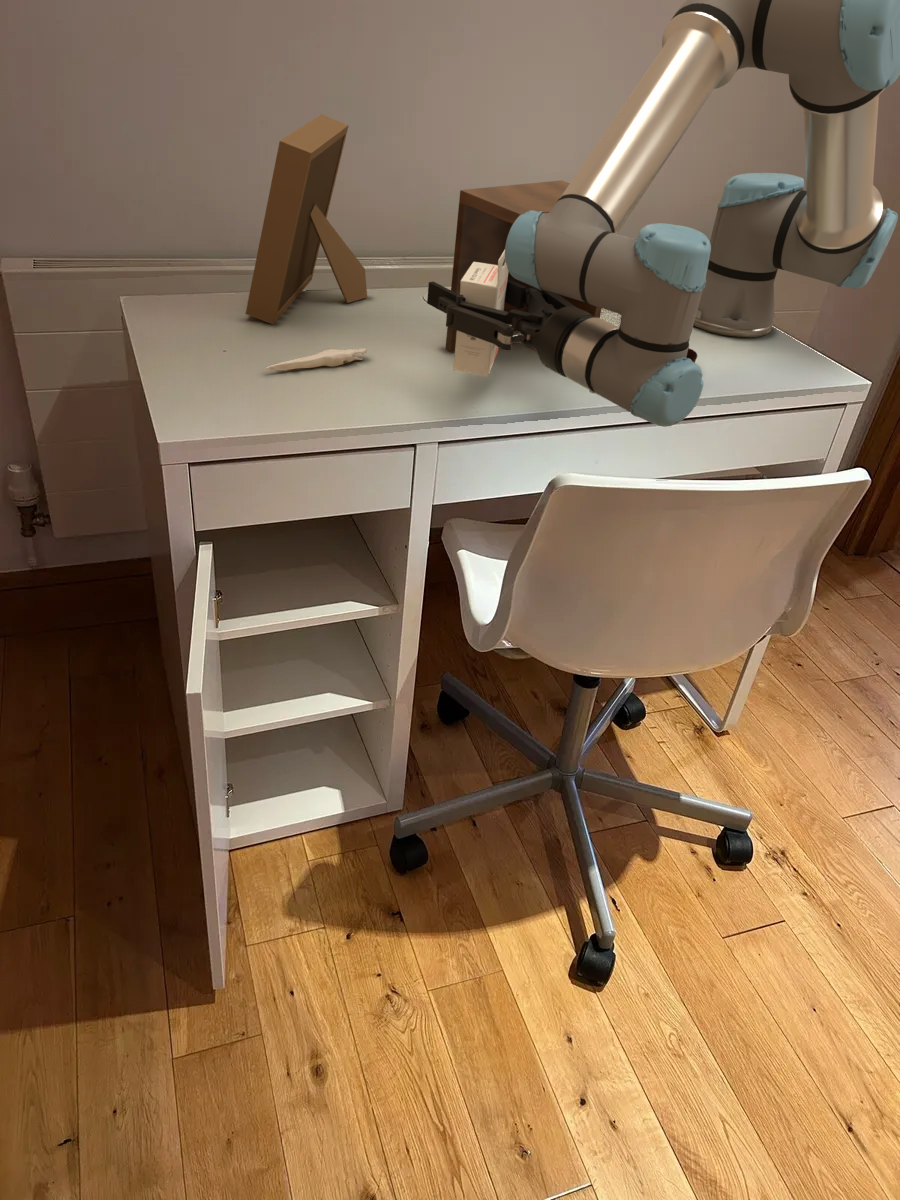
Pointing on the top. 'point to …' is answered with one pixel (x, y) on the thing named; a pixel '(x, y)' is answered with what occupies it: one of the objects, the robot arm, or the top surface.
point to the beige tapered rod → (321, 359)
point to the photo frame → (302, 222)
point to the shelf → (498, 231)
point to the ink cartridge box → (486, 290)
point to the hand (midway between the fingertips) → (460, 287)
